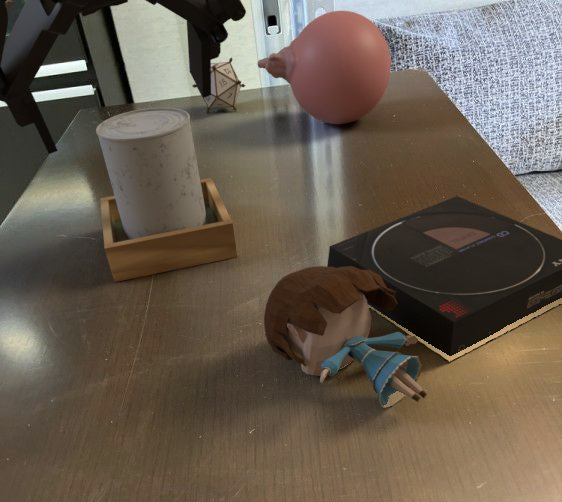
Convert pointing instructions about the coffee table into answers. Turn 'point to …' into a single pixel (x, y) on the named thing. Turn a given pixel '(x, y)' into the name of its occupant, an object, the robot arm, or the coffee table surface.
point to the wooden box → (168, 241)
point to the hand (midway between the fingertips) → (125, 110)
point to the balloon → (335, 67)
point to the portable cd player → (458, 271)
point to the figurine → (339, 327)
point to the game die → (222, 86)
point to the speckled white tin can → (153, 171)
